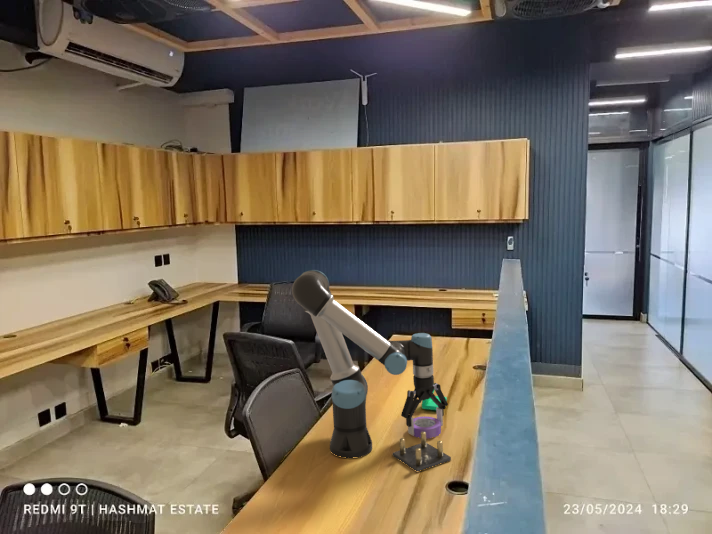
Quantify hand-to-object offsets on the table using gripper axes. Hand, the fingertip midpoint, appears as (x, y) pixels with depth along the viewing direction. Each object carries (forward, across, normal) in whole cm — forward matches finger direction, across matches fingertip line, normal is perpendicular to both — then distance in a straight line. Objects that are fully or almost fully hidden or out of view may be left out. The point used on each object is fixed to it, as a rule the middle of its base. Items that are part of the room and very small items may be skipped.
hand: (425, 429), depth 201 cm
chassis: (+1, -14, -16) cm, 21 cm away
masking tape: (+1, 0, 0) cm, 1 cm away
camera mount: (+1, +18, +18) cm, 26 cm away
